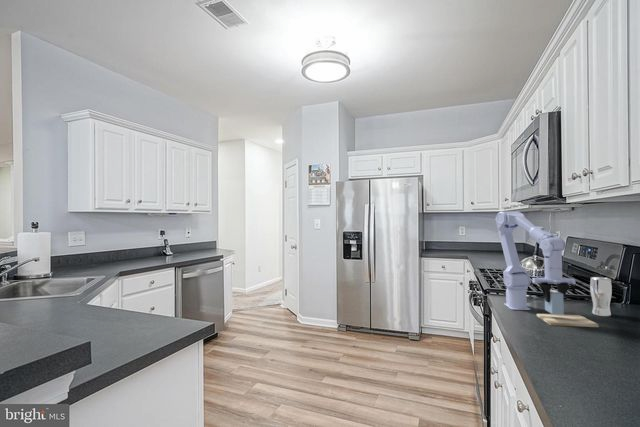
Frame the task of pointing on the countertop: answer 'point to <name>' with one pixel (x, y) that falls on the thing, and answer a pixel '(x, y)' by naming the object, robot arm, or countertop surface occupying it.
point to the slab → (555, 303)
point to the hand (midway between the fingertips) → (554, 301)
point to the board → (567, 320)
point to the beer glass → (601, 295)
